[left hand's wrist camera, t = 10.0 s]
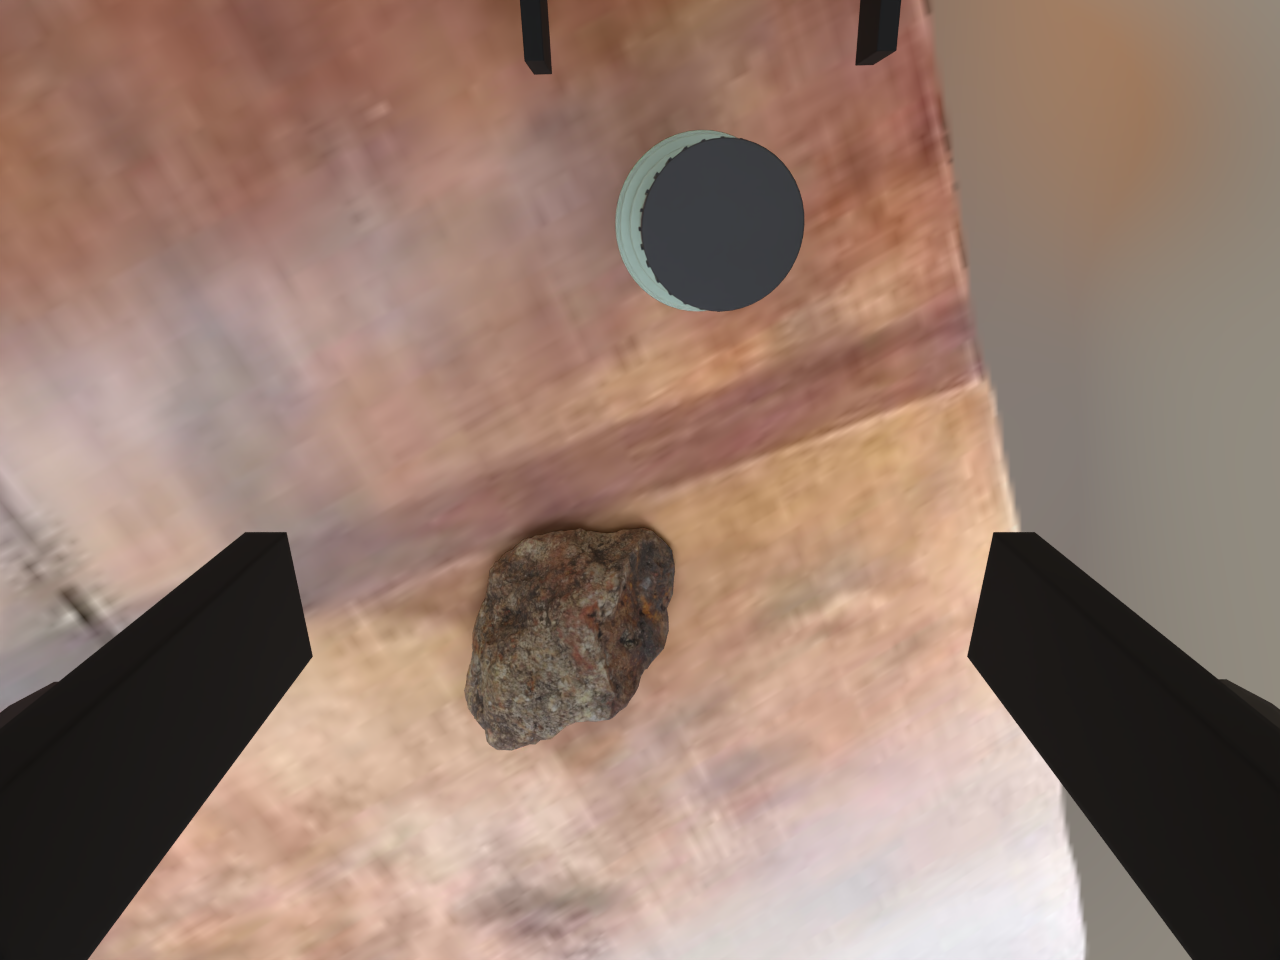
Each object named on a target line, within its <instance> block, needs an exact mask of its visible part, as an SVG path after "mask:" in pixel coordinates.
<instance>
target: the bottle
mask: <svg viewBox="0 0 1280 960" xmlns="http://www.w3.org/2000/svg"><path fill="white" fill-rule="evenodd" d="M721 136H724V137H730V138H736V137H734V136H732V135H729V134H726V133H723V132H718V131H712V130H694V131H687V132H683V133H680V134H676V135H674V136H671V137H669V138H667V139H665V140H663V141H661V142H660V143H658V144H656V145H655V146H654V147H652V148H651V149H650V150H649V151H647V152H646V153H645V154H644V155H643V156H642V157H641V158H640V159H639V161H638V162H637V163H636V164H635V166H634V167H633V169H632V170H631V171H630V173H629V175H628V177H627V179H626V180H625V182H624V185H623V187H622V190H621V192H620V196H619V200H618V203H617V210H616V225H615V229H616V238H617V243H618V247H619V251H620V254H621V257H622V259H623V262H624V264H625V266H626V268H627V270H628V272H629V273H630V275H631V276H632V277H633V279H634V280H635V281H636V283H637V284H638V285H639V286H640V287H641V288H642V289H643V290H644V291H645V292H647V293H648V294H649V295H650V296H651V297H653V298H655V299H656V300H658V301H659V302H661V303H664V304H666V305H668V306H670V307H674V308H677V309H681V310H687V311H708V310H700V309H699V308H696V307H692V306H690V305H688V304H686V305H685V304H683V302H682V301H680V300H679V299H677V298H676V297H674V296H673V295H671V296H670V295H669V294H668V291H667V290H666V289H665V288H664V287H663V286H662V284H661V283H660V282H659V283H657V281H656V279H655V276H654V273H653V272H652V270H651V268H650V267H649V268H648V267H647V264H646V260H647V258H646V255H645V252H644V250H641V246H640V244H642V240H641V231H639V230H638V227H641V214H642V212H640V209H641V208H643V205H644V201H645V198H646V196H647V195H645V192H646V190H647V189H648V190H649V189H650V187H651V185H652V184H653V182H654V180H655V179H653V178H654V176H655V174H656V173H657V172H658V173H660V172H661V170H662V169H663V168H664V166H665V164H666V162H667V160H668V159H669V158H670V157H671V158H674V157H675V156H676V155H677V154H679V153H680V152H681V151H682V150H683V148H684V147H686V146H687V147H690V146H692V145H694V144H696V143H699V142H700V141H701V140H702V139H706V140H709V139H713V138H720V137H721Z"/></svg>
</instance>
